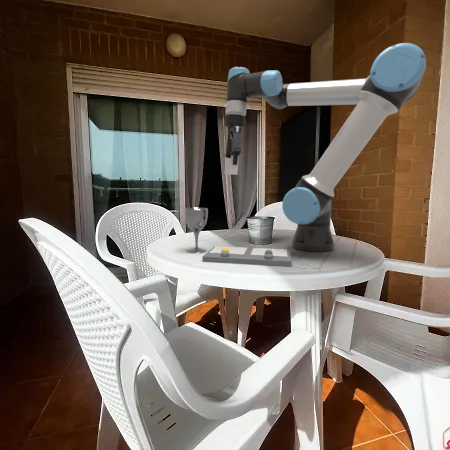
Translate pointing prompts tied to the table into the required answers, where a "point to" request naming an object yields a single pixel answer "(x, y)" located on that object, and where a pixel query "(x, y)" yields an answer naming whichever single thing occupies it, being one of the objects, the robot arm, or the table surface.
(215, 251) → the indicator board
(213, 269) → the table surface
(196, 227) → the wine glass
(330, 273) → the table surface
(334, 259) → the table surface
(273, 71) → the robot arm
